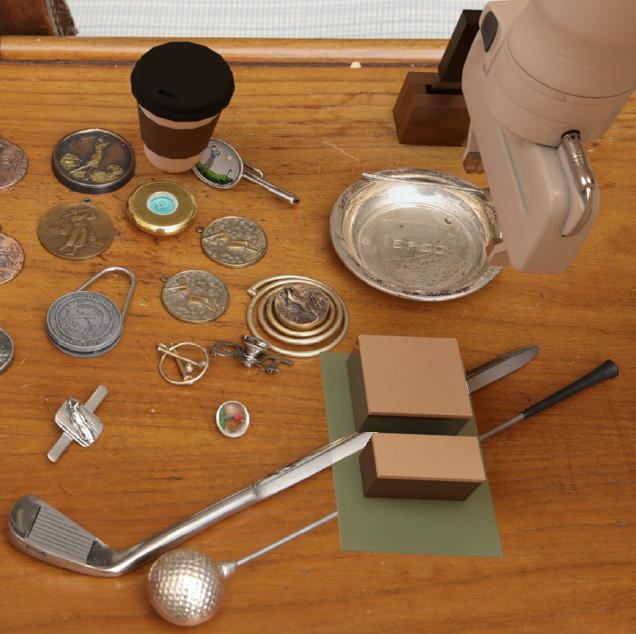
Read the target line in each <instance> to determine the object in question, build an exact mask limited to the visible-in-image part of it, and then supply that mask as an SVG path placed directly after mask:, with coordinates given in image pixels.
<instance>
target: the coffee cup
mask: <svg viewBox="0 0 636 634" xmlns="http://www.w3.org/2000/svg"><path fill="white" fill-rule="evenodd" d="M129 80H130V90H131V94H132V96H133V98H134V99H135V100H136V106H137V114H138V122H139V129H140V137H141V138H140V139H141V141H142V142H143V149H144V154H145V156H146V158H147V159H148V160H149V162H150V163H151V165H152V166H153V167H155V168H157V169H158V170H159V171H162V172H166V173H169V174H175V173H177V174H181V173H183V172H184V173H185V172H186V171H187V172H188V171H189V170H191V169H192V168H193V167H194V166H196V165H197V164H198V163H199V162H200V161H201V160H202V158H203V157H202V156H203V154H204V152H205V150H206V149H207V148H208V147H209V144H210V141H211V138H212V137H213V134H214V131H215V129H216V126H217V124H218V122H219V119H220V117H221V114H222V112H223V111H224V110H225V109H226V108H227V107H228V106H229V105H230V103H231V100H232V99H233V96H234V94H235V90H236V85H235V79H234V73H233V71H232V70H231V66H230V65H229V64H228V63H227V61H226V60H225V59H224V57H223V55H222V54H221V53H218V52H216V50H213V49H212V48H210V47H208V46H206V45H205V44H204V45H203V44H200V43H196V42H193V41H189V40H188V41H186V40H184V41H168V42H164V43H161V44H158V45H155V46H152V47H151V48H150V49H149V50H147V51H146V52H145V53H143V54H142V55H141V56H140V58H139V59H138V60H137V61H136V62H135V64H134V66H133V69H132V70H131V73H130V78H129ZM196 163H197V164H196Z"/></svg>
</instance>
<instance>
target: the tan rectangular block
mask: <svg viewBox="0 0 636 634" xmlns="http://www.w3.org/2000/svg"><path fill="white" fill-rule="evenodd" d="M359 463H360V471H361V479H362V486H363V494H364V497H375V498H399V499H422V500H446V501H466V499H467V498H468V497H469V496H470V495H471V494H472V493H473V492H474V491H475V490H476V489H477V488H478V487H479V486H480V485H481V484H482V483H483V482H484V481H485V480H486V478H485V473H484V468H483V463H482V458H481V453H480V449H479V444H478V439H477V437H464V436H440V435H416V434H392V433H373V434H372V436H371V438H370V439H369V441H368V442H367V444H366V446H365V447H364V449H363V450H362V452H361V453H360V455H359Z"/></svg>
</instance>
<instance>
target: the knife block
mask: <svg viewBox="0 0 636 634" xmlns="http://www.w3.org/2000/svg"><path fill="white" fill-rule="evenodd" d="M436 74H439V73H438V71H437V72H436V71H435V72H434V71H411V70H410V71H407V73H406V76H405V78H404V81H403V83H402V86H401V88H400V90H399V93H398V95H397V97H396V100H395V102H394V106H393V109H392V113H393V114H392V115H393V118H394V123H395V128H396V134H397V139H398V144H400V145H423V146H424V145H425V146H451V147H462V146H463V144H464V142H465V140H466V138H467V137H468V134H469V133H468V132H469V127H470V121H471V120H470V116H469V112H468V109H467V105H466V102H465V98H464V94H463V91H462V84H461V86H460V88H459V90H458V92H457V94H456V95H442V94H428V92H429V89H430V87H431V85H432V83H433V80H434V78H435V76H436Z"/></svg>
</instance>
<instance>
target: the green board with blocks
mask: <svg viewBox="0 0 636 634" xmlns="http://www.w3.org/2000/svg"><path fill="white" fill-rule="evenodd" d="M319 359H320V368H321V378H322V387H323V388H322V389H323V396H324V406H325V414H326V423H327V424H326V425H327V431H328V441H329V444H330V443H333V442H334V441H336V440H338V439H340V438H343V437H345V436H347V435H350V434H351V433H354V432H357V433H362V432H378V433H392V434H416V435H440V436H464V437H477V439H478V444H479V449H480V453H481V458H482V463H483V468H484V473H485V478H486V480H485V481H484V482H483V483H482V484H481V485H480V486H479V487H478V488H477V489H476V490H475V491H474V492H473V493H472V494H471V495H470V496H469V497H468V498H467V499H466V501H446V500H422V499H399V498H375V497H364V494H363V486H362V479H361V471H360V463H359V455H360V453H361V452H362V450H363V449H362V450H360V451H358V452H356V453H354V454H352V455H350V456H348V457H346V458H344V459H343V460H341V461H339V462H337V463H336V464H333V465H332V464H331V467H332V468H331V469H332V476H333V477H332V479H333V487H334V496H335V505H336V511H337V512H336V513H337V514H336V515H337V523H338V531H339V540H340V548H341V552H349V553H350V552H351V553H352V552H353V553H375V554H395V555H396V554H397V555H398V554H399V555H423V556H447V557H464V558H465V557H467V558H468V557H469V558H493V559H504V558H505V555H504V551H503V546H502V541H501V536H500V532H499V531H500V530H499V527H498V521H497V516H496V512H495V507H494V502H493V497H492V492H491V488H490V482H489V478H488V473H487V468H486V464H485V458H484V454H483V450H482V449H483V448H482V444H481V440H480V435H479V430H478V426H477V421H476V415H475V411H474V406H473V401H472V396H471V392H470V393H469V394H468V390H467V386H466V381H465V377H466V376H467V372H466V367H465V362H464V358H463V356H461V352H460V347H459V343H458V339H457V338H455V337H431V336H429V337H428V336H408V335H407V336H405V335H384V334H383V335H378V334H359V335H358V337H357V339H356V341H355V343H354V345H353V347H352V349H351V350H350V352H343V351H342V352H339V351H319Z"/></svg>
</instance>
